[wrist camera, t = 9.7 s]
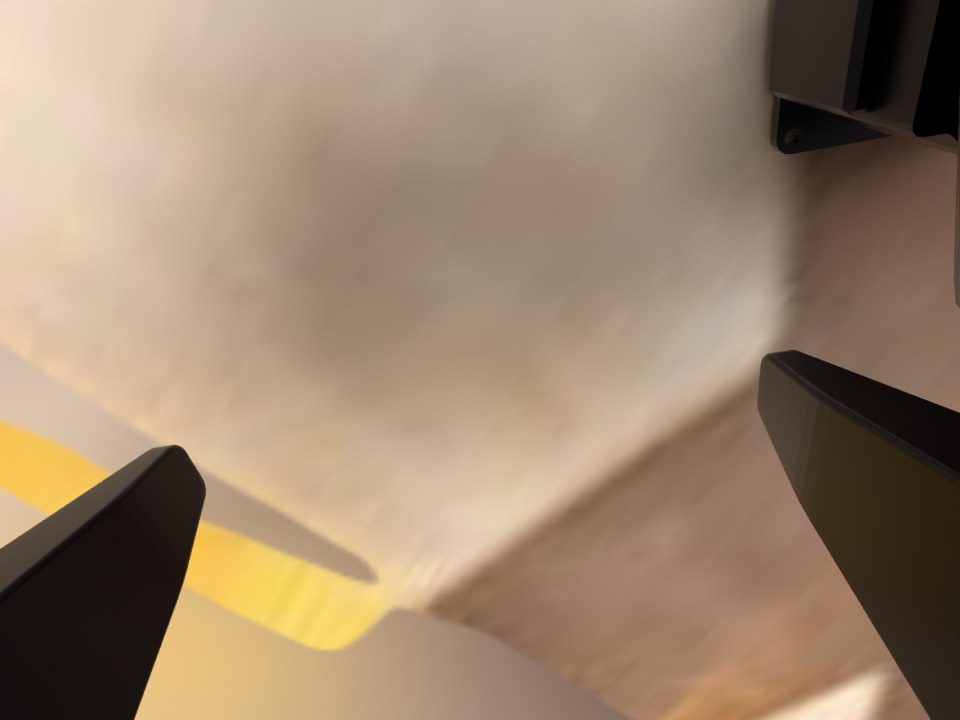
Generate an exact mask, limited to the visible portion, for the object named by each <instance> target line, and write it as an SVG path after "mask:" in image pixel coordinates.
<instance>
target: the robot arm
mask: <svg viewBox="0 0 960 720" xmlns="http://www.w3.org/2000/svg"><path fill="white" fill-rule="evenodd" d="M769 90H770V91H771V92H772V93H773V94H774V95H775V97H774V107H773V118H772V129H771V144H772V146H773V147H774V149H776V150H778V151H780V152H782V153H784V154H794V153H800V152H805V151H811V150H816V149H821V148H827V147H832V146H838V145H843V144H849V143H854V142H860V141H865V140H871V139H876V138H882V137H887V136H896V137H899V138H902V139H906V140H909V141H913V142H916V143H919V144H923V145H926V146H930V147H933V148H936V149H940V150H943V151H947V152H950V153H953V154H957V155H958V160H957V191H956V222H955V253H954V287H955V300H956V304H957V305H958V306H959V307H960V0H776V10H775V22H774V33H773V44H772V56H771V67H770V79H769ZM792 129H795V136H794V138H793V139H792V140H791V141H790V142H788V143H786V144H785V136H786V134H787V133H788V132H789V131H790V130H792ZM757 406H758V411H759V414H760V417H761V419H762V421H763V423H764V426H765V428H766V430H767V432H768V434H769V437H770V439H771V441H772V443H773V445H774V448H775V450H776V452H777V454H778V457H779V459H780V461H781V463H782V465H783V468H784V470H785V472H786V474H787V476H788V479H789V481H790V483H791V485H792V487H793V490H794V492H795V494H796V496H797V498H798V500H799V502H800V504H801V505H802V507H803V509H804V511H805V513H806V514H807V516H808V518H809V519H810V521H811V523H812V524H813V526H814V528H815V529H816V531H817V533H818V534H819V536H820V538H821V539H822V541H823V543H824V544H825V546H826V548H827V549H828V551H829V553H830V554H831V556H832V558H833V559H834V561H835V562H836V564H837V566H838V567H839V569H840V571H841V572H842V574H843V576H844V577H845V579H846V581H847V582H848V584H849V586H850V587H851V589H852V591H853V592H854V594H855V596H856V597H857V599H858V601H859V602H860V604H861V605H862V607H863V609H864V610H865V612H866V614H867V615H868V617H869V619H870V620H871V622H872V624H873V625H874V627H875V629H876V630H877V632H878V634H879V635H880V637H881V639H882V640H883V642H884V644H885V645H886V647H887V648H888V650H889V652H890V653H891V655H892V657H893V658H894V660H895V662H896V663H897V665H898V667H899V668H900V670H901V672H902V673H903V675H904V677H905V678H906V680H907V682H908V683H909V685H910V687H911V688H912V690H913V692H914V693H915V695H916V696H917V698H918V700H919V701H920V703H921V705H922V706H923V708H924V710H925V711H926V713H927V715H928V716H929V718H930V720H960V413H959V412H956V411H954V410H951V409H948V408H946V407H943V406H941V405H938V404H935V403H933V402H930V401H927V400H925V399H922V398H920V397H917V396H914V395H912V394H909V393H907V392H904V391H901V390H899V389H896V388H893V387H891V386H888V385H886V384H883V383H880V382H878V381H875V380H872V379H870V378H867V377H865V376H862V375H859V374H857V373H854V372H852V371H849V370H846V369H844V368H841V367H838V366H836V365H833V364H831V363H828V362H825V361H823V360H820V359H818V358H815V357H812V356H810V355H807V354H804V353H802V352H799V351H796V350H787V351H781V352H775V353H769V354H766V355H765V356H764V357H763V359H762V361H761V366H760V376H759V385H758V395H757ZM205 496H206V488H205V483H204V480H203V478H202V477H201V475H200V473H199V472H198V470H197V469H196V467H195V465H194V464H193V462H192V460H191V459H190V457H189V456H188V454H187V452H186V451H185V450H184V449H183V448H182V447H181V446H178V445H170V446H163V447H157V448H153V449H150V450H149V451H147V452H145V453H144V454H143V455H141V456H139V457H138V458H137V459H135V460H133V461H132V462H130V463H129V464H127V465H126V466H124V467H123V468H122V469H120V470H118V471H117V472H115V473H114V474H112V475H111V476H109V477H108V478H106V479H105V480H103V481H102V482H100V483H99V484H97V485H96V486H94V487H93V488H91V489H90V490H88V491H87V492H85V493H84V494H82V495H81V496H79V497H78V498H76V499H75V500H73V501H72V502H70V503H69V504H67V505H66V506H64V507H63V508H61V509H60V510H58V511H57V512H55V513H54V514H52V515H51V516H49V517H48V518H46V519H45V520H43V521H42V522H40V523H39V524H37V525H36V526H34V527H33V528H31V529H30V530H28V531H27V532H25V533H24V534H22V535H21V536H19V537H18V538H16V539H15V540H13V541H12V542H10V543H9V544H7V545H5V546H4V547H2V548H1V549H0V720H134V719H135V716H136V713H137V711H138V708H139V705H140V702H141V700H142V697H143V694H144V691H145V689H146V686H147V683H148V680H149V678H150V675H151V672H152V669H153V667H154V664H155V661H156V658H157V655H158V653H159V650H160V647H161V644H162V641H163V639H164V636H165V633H166V631H167V628H168V625H169V622H170V620H171V617H172V614H173V611H174V608H175V606H176V603H177V600H178V597H179V594H180V591H181V589H182V586H183V582H184V579H185V575H186V572H187V568H188V564H189V560H190V556H191V552H192V548H193V544H194V540H195V536H196V532H197V528H198V524H199V520H200V516H201V512H202V508H203V504H204V500H205Z"/></svg>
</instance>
